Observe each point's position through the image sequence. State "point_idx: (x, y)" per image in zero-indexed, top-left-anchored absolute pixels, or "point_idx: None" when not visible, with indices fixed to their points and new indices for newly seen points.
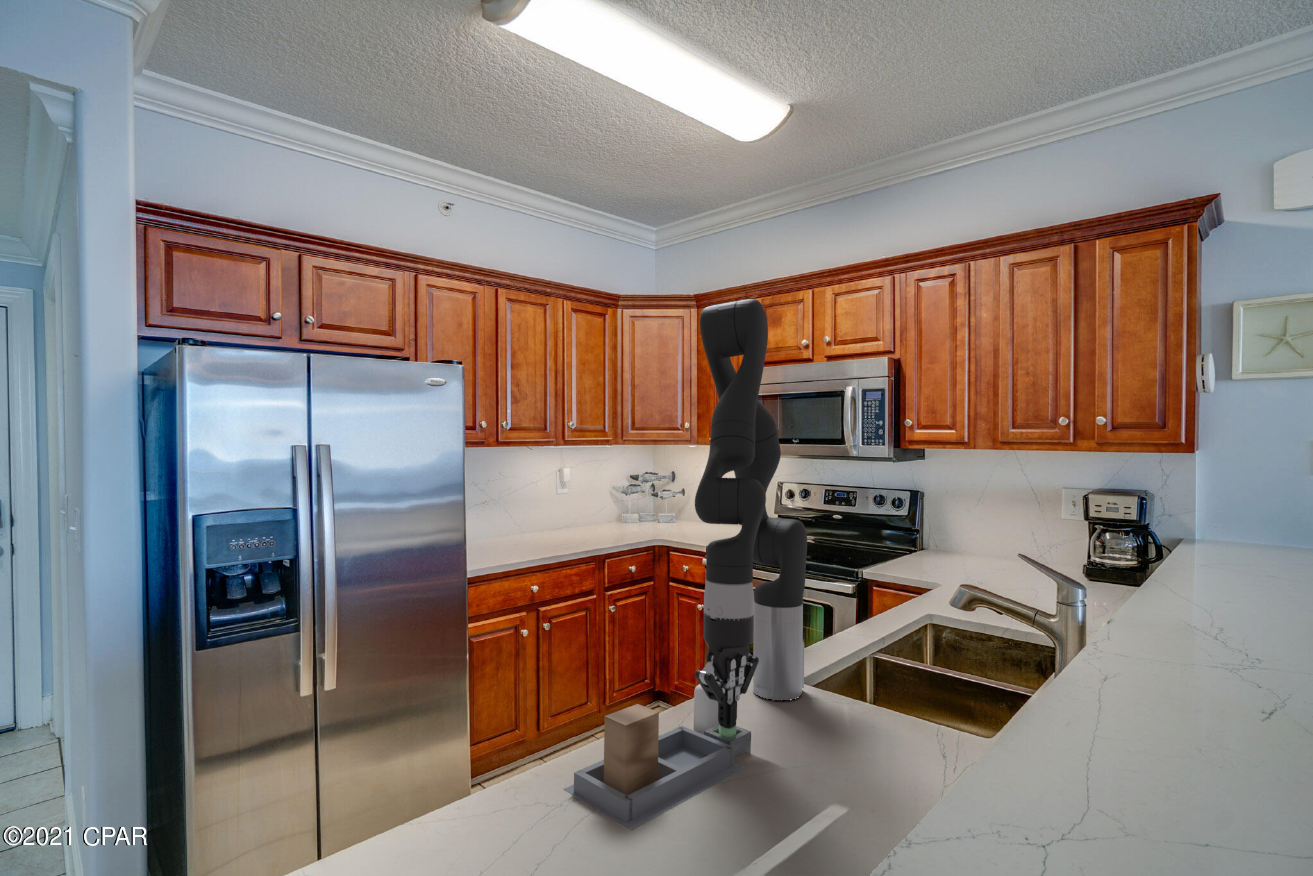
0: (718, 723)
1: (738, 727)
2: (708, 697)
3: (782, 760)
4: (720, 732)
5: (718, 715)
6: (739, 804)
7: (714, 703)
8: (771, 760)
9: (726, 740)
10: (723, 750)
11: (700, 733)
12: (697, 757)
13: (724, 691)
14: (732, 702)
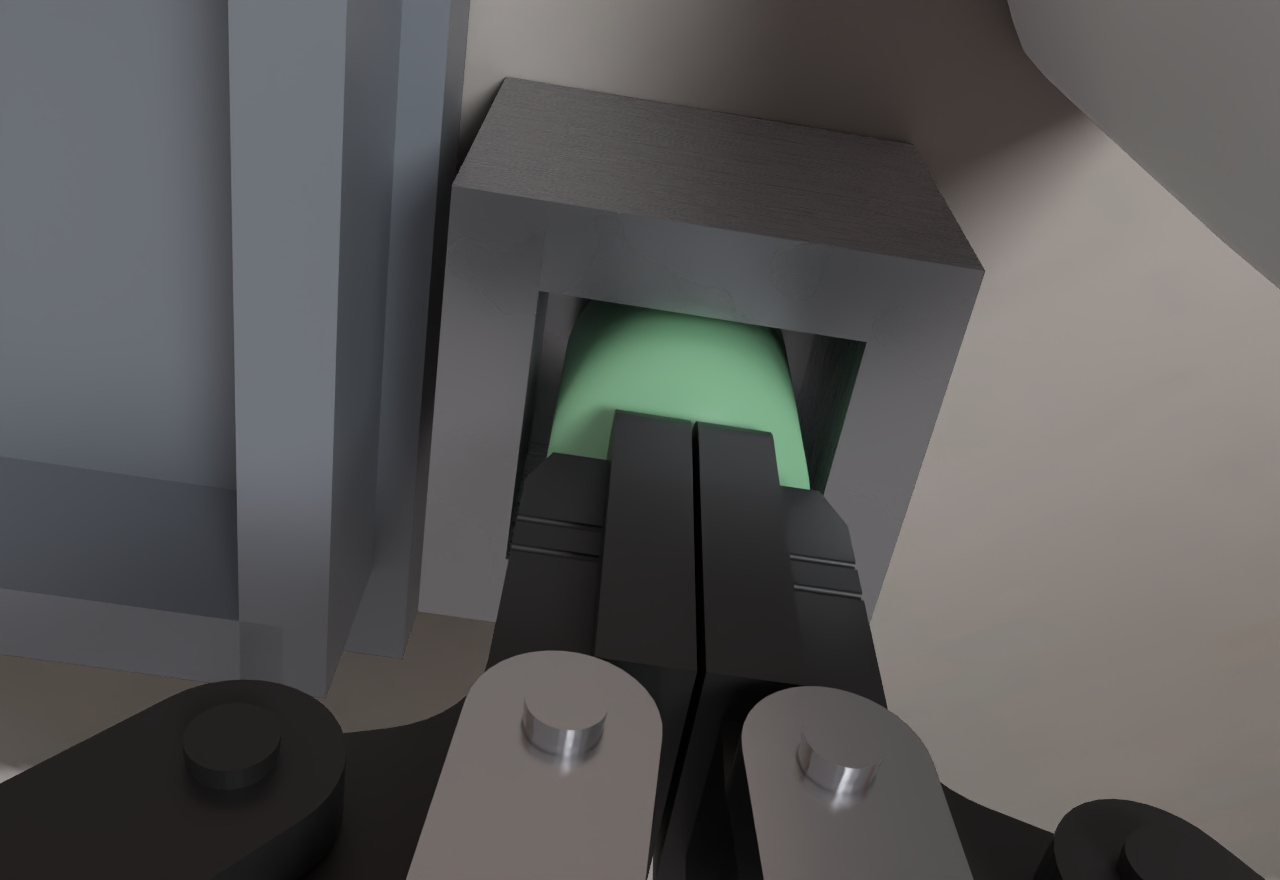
0: (1081, 69)
1: (889, 511)
2: (147, 721)
3: (946, 698)
4: (560, 413)
5: (516, 531)
6: (47, 714)
7: (1191, 84)
8: (893, 633)
9: (423, 558)
10: (162, 646)
11: (335, 189)
12: (209, 188)
13: (742, 842)
14: (668, 868)
